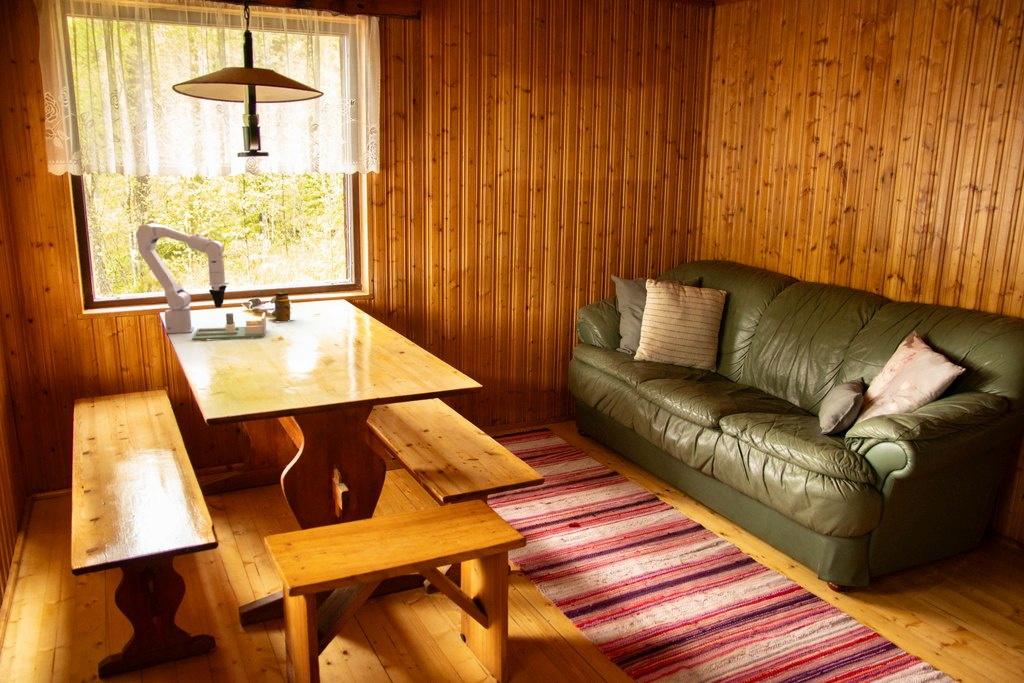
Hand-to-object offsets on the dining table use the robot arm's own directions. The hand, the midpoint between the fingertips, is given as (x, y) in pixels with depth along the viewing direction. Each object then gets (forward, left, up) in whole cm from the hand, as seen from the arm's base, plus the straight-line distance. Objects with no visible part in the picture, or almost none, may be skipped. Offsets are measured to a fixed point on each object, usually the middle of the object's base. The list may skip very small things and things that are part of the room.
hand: (219, 305), depth 325 cm
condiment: (+23, +17, -11) cm, 30 cm away
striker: (+4, -7, -9) cm, 12 cm away
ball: (+13, -7, -7) cm, 17 cm away
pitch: (+4, -7, -10) cm, 13 cm away
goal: (+14, -7, -9) cm, 18 cm away
